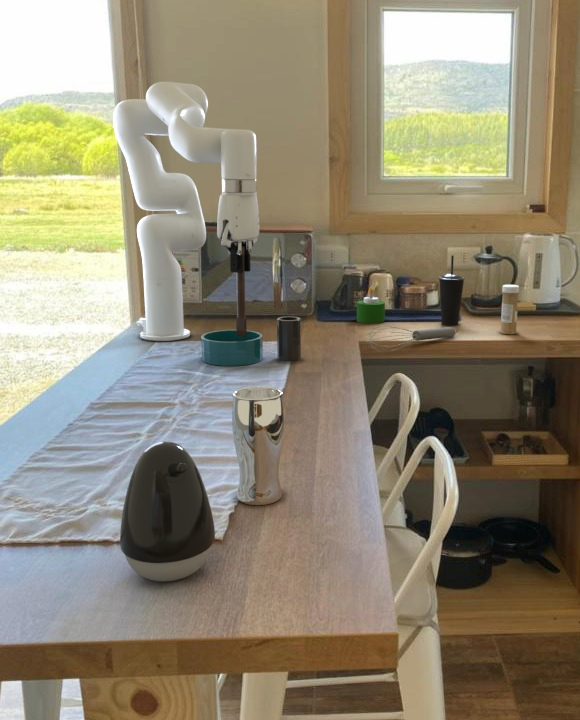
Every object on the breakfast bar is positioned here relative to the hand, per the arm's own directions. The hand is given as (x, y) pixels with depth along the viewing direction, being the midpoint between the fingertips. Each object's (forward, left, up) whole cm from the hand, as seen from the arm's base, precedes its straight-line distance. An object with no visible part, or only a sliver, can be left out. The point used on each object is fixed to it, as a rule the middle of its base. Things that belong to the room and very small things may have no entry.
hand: (240, 271), depth 181 cm
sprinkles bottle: (+43, +65, -21) cm, 81 cm away
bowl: (-3, 0, -21) cm, 21 cm away
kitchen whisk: (+26, +38, -21) cm, 51 cm away
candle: (+2, +61, -21) cm, 65 cm away
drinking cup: (+24, +69, -21) cm, 76 cm away
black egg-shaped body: (+50, -84, -21) cm, 100 cm away
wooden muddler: (0, 0, -15) cm, 15 cm away
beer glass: (+47, -62, -21) cm, 81 cm away
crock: (+8, +7, -21) cm, 24 cm away
